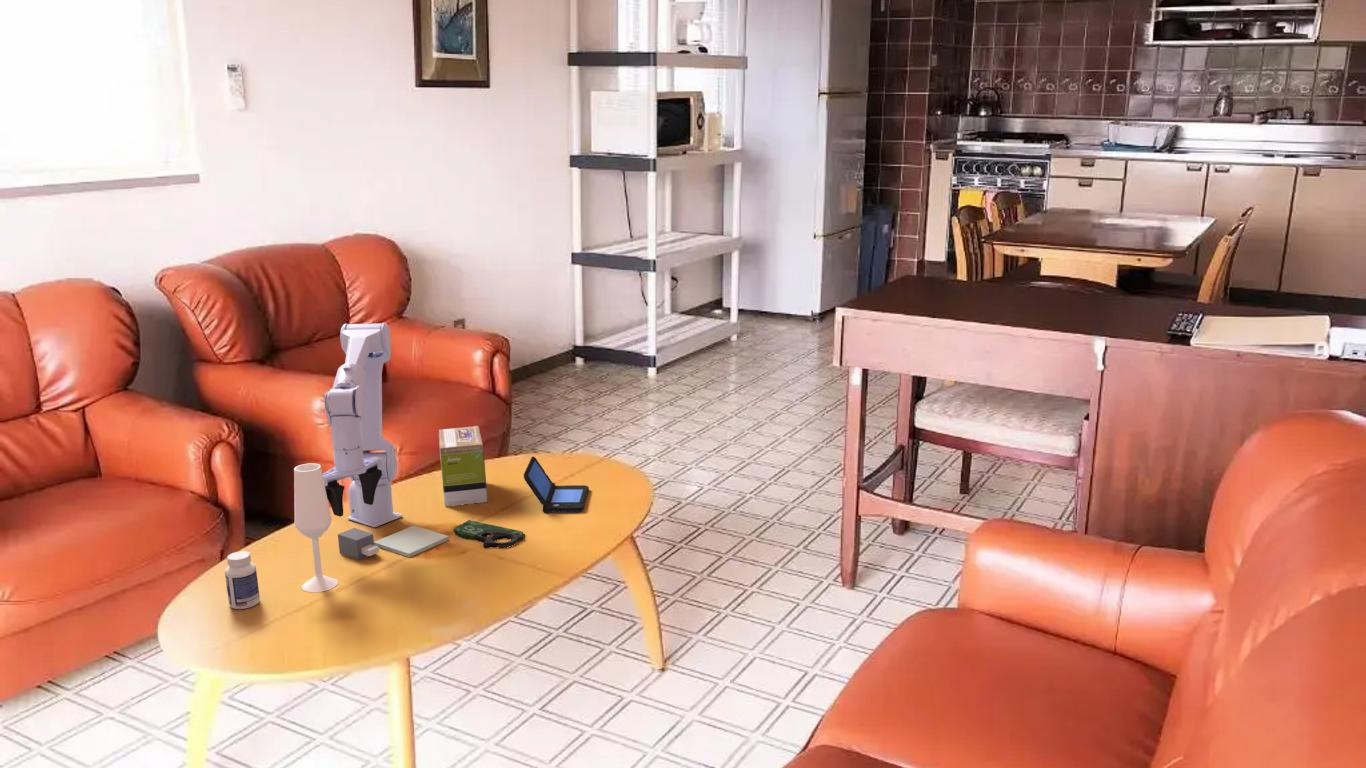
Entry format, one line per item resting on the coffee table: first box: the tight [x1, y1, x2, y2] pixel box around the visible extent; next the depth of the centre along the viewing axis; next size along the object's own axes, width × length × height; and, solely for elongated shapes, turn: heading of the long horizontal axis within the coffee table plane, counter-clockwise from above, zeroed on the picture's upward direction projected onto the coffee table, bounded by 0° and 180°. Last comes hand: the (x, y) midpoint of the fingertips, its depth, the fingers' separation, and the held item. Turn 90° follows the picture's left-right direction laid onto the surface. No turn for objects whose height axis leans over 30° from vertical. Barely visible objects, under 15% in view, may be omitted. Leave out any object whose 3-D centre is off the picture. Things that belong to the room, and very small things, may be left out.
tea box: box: [438, 425, 488, 507], centre depth 256 cm, size 15×10×15 cm, turn 14°
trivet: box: [374, 525, 450, 558], centre depth 230 cm, size 11×11×1 cm
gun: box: [453, 519, 526, 549], centre depth 232 cm, size 16×2×10 cm
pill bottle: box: [224, 550, 261, 610], centre depth 201 cm, size 5×5×10 cm
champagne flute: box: [293, 462, 339, 593], centre depth 207 cm, size 7×7×24 cm
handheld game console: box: [523, 456, 590, 514], centre depth 252 cm, size 16×13×9 cm
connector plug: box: [337, 527, 380, 561], centre depth 224 cm, size 8×4×4 cm, turn 55°
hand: (353, 509), depth 222 cm, fingers open, 7 cm apart
